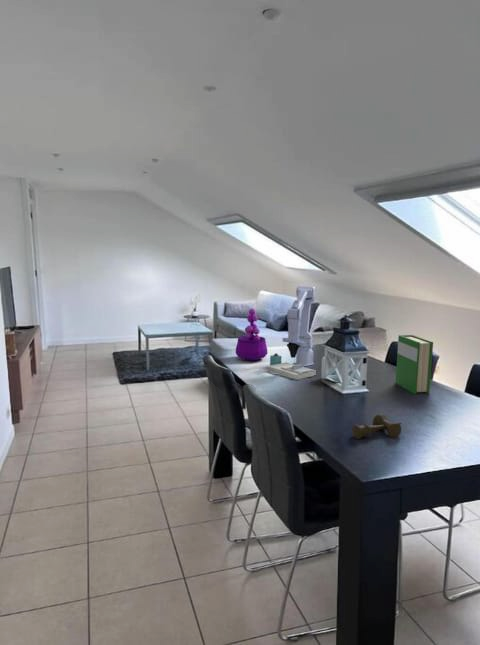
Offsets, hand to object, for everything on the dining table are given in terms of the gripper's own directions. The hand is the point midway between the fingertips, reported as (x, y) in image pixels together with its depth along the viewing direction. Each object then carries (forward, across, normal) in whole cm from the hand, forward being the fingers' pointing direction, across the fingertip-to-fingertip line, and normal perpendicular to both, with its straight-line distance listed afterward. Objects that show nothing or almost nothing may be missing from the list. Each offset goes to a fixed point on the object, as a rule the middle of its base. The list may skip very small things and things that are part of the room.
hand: (293, 357), depth 250 cm
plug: (+9, -16, +3) cm, 19 cm away
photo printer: (+9, +21, +6) cm, 23 cm away
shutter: (+6, +6, 0) cm, 8 cm away
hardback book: (+9, +53, +27) cm, 60 cm away
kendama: (+9, +77, -34) cm, 85 cm away
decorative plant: (+9, -37, +3) cm, 38 cm away
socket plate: (+9, -1, 0) cm, 9 cm away
